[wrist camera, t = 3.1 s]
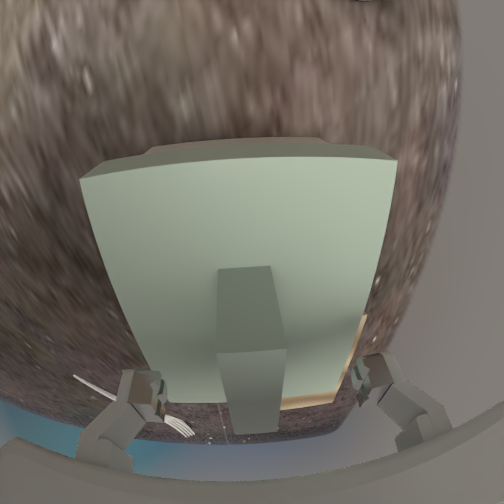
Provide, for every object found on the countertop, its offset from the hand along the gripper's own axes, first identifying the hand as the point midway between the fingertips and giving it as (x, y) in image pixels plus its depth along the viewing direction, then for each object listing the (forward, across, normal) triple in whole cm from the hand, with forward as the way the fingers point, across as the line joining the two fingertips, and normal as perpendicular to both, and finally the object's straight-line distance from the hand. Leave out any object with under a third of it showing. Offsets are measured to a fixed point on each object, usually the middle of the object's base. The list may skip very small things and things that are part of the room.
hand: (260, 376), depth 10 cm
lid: (+5, 0, 0) cm, 5 cm away
